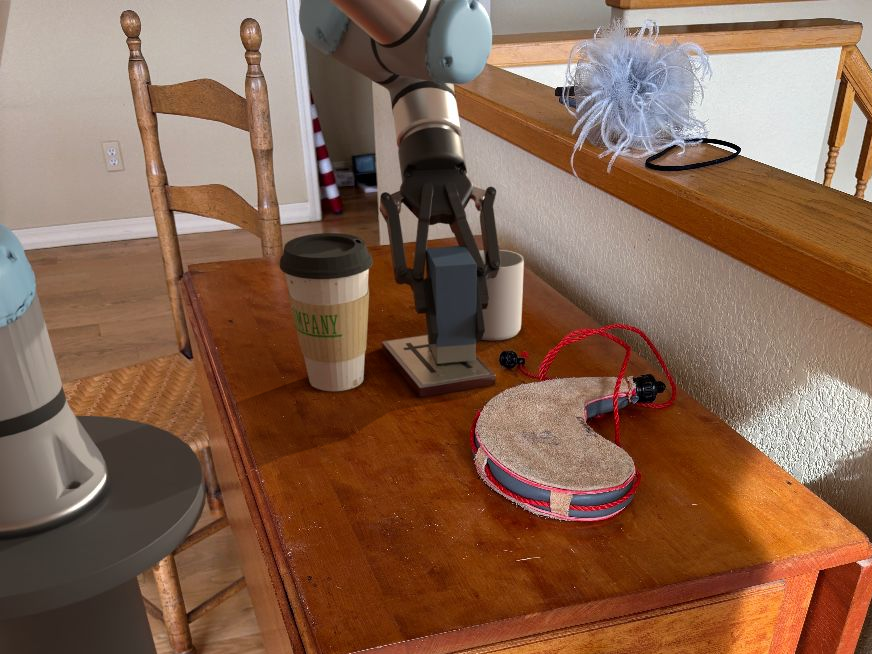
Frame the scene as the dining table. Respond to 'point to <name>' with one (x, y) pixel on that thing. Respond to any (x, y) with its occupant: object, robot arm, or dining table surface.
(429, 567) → the dining table surface
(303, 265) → the coffee cup
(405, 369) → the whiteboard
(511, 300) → the cup
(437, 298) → the eraser
